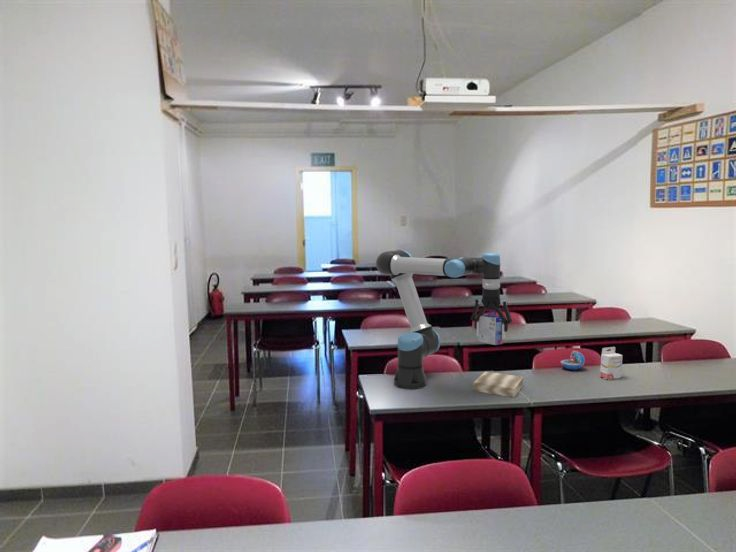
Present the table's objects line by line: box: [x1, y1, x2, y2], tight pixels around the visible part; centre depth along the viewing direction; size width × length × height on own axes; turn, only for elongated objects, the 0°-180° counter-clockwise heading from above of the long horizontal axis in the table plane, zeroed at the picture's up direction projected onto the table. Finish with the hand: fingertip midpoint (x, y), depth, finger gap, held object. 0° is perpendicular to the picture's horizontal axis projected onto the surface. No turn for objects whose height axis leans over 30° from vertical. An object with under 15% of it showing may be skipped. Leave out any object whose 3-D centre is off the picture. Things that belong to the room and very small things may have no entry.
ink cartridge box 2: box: [599, 346, 623, 380], centre depth 236 cm, size 9×5×15 cm, turn 108°
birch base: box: [473, 371, 524, 398], centre depth 223 cm, size 18×18×4 cm
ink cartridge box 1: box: [478, 309, 504, 346], centre depth 217 cm, size 10×6×14 cm, turn 36°
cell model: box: [560, 350, 586, 371], centre depth 250 cm, size 10×12×10 cm
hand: (490, 337), depth 218 cm, fingers closed on ink cartridge box 1, 11 cm apart
